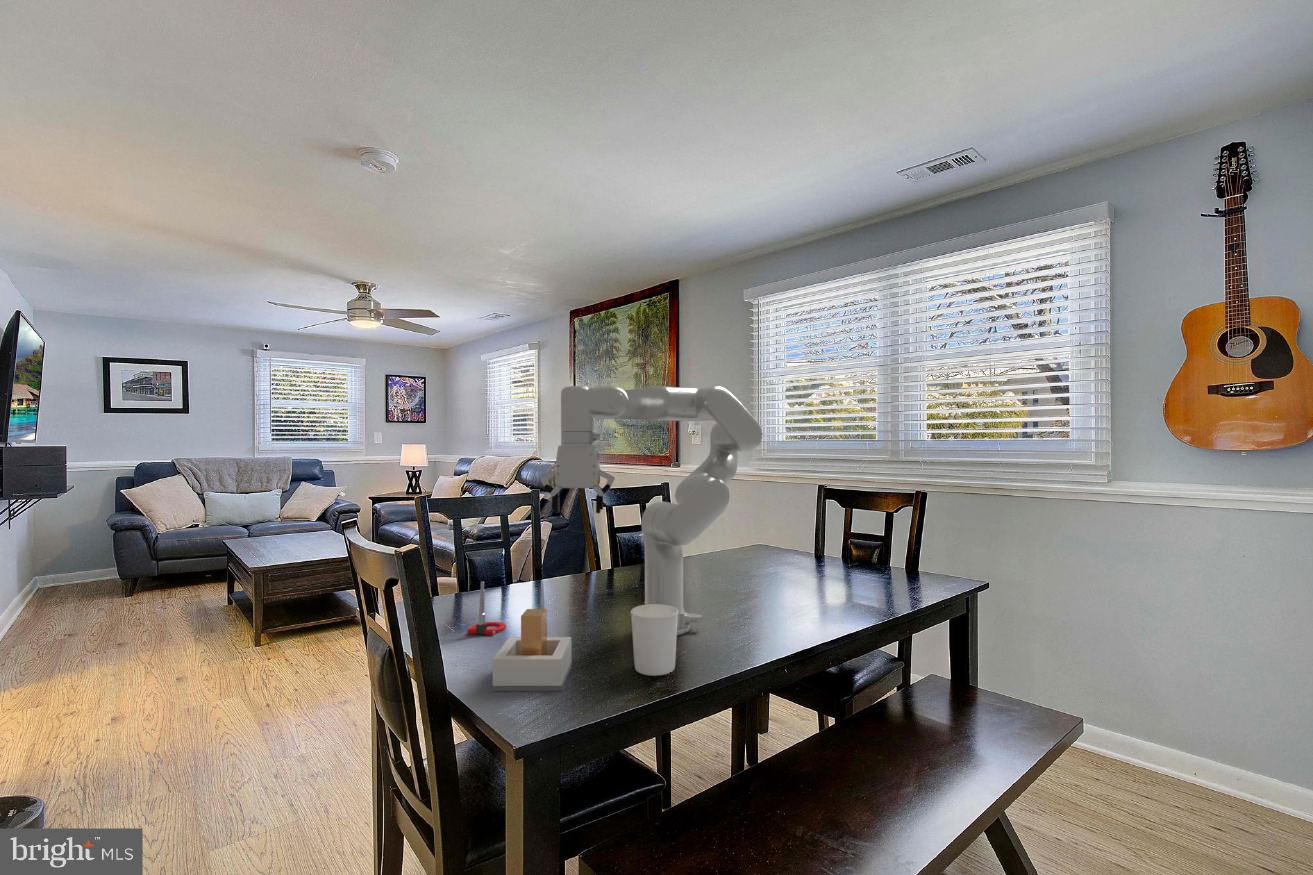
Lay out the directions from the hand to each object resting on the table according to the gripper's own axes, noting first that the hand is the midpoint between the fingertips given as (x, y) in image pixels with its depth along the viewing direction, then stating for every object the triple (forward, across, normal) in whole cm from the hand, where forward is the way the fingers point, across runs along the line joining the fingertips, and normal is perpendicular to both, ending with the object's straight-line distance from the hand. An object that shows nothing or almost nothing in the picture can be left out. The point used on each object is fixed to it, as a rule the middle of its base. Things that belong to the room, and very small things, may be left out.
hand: (577, 512), depth 145 cm
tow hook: (+31, +24, -10) cm, 40 cm away
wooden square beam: (+29, +6, +21) cm, 37 cm away
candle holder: (+31, -18, +16) cm, 39 cm away
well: (+30, +6, +21) cm, 37 cm away
